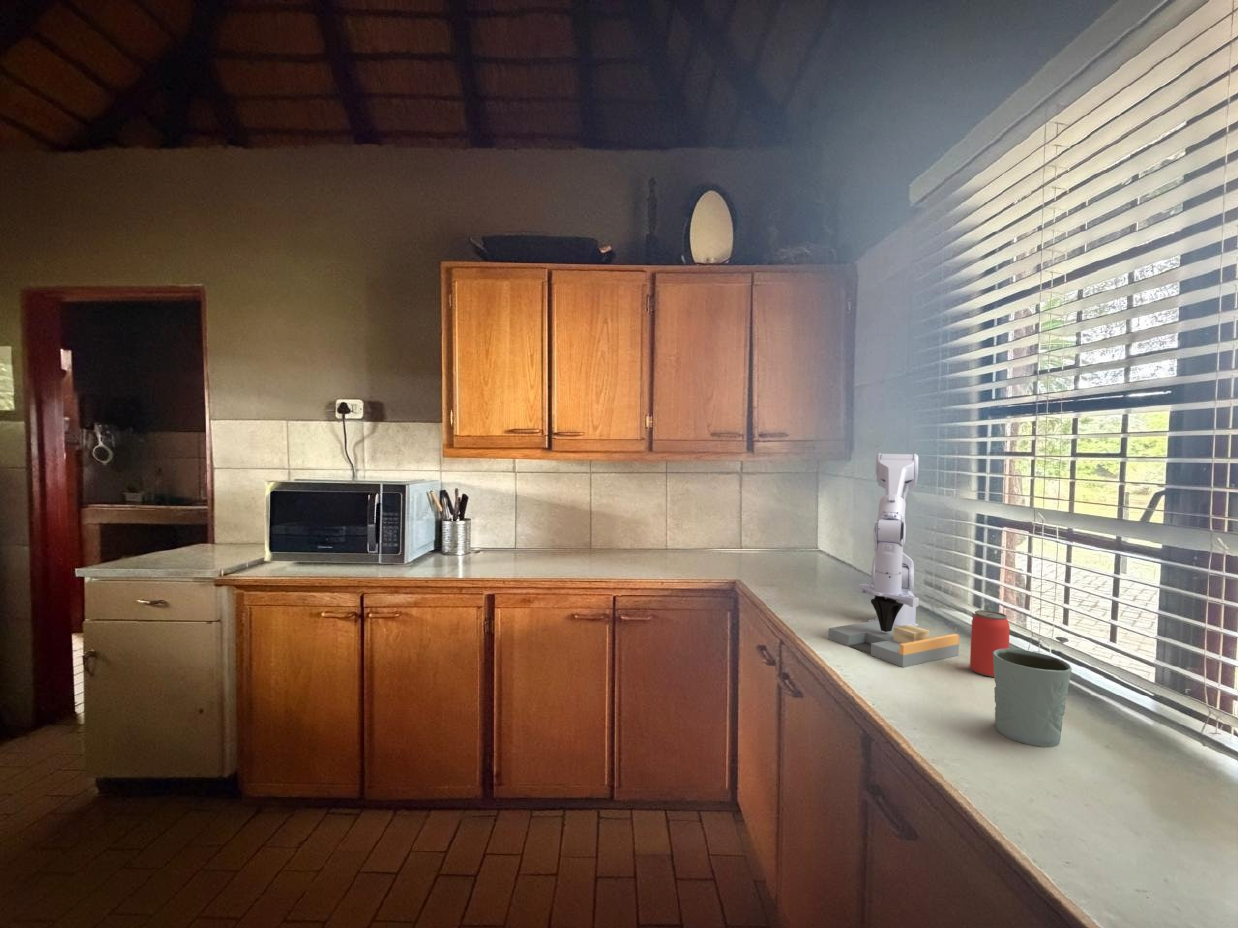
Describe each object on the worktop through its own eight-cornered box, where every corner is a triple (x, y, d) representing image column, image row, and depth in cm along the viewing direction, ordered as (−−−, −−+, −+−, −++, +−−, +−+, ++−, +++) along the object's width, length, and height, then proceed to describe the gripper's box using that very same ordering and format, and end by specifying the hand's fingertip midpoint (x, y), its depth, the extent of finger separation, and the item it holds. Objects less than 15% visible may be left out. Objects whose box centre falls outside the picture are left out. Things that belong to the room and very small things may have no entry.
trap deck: (881, 629, 148) (882, 611, 148) (958, 655, 130) (959, 635, 130) (828, 638, 140) (829, 619, 140) (902, 667, 122) (903, 645, 122)
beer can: (972, 675, 119) (975, 615, 119) (967, 664, 125) (969, 607, 125) (1011, 680, 116) (1013, 619, 116) (1003, 669, 122) (1006, 611, 122)
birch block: (908, 637, 134) (909, 624, 134) (929, 644, 130) (929, 630, 130) (893, 640, 132) (894, 626, 132) (913, 647, 127) (914, 633, 127)
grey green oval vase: (976, 724, 97) (979, 651, 97) (1016, 715, 101) (1019, 645, 101) (1041, 754, 88) (1044, 674, 87) (1083, 742, 92) (1086, 665, 91)
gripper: (850, 566, 141) (848, 623, 141) (904, 579, 128) (902, 642, 128) (871, 564, 144) (869, 620, 144) (925, 577, 131) (923, 638, 132)
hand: (886, 630), depth 137 cm, fingers closed
